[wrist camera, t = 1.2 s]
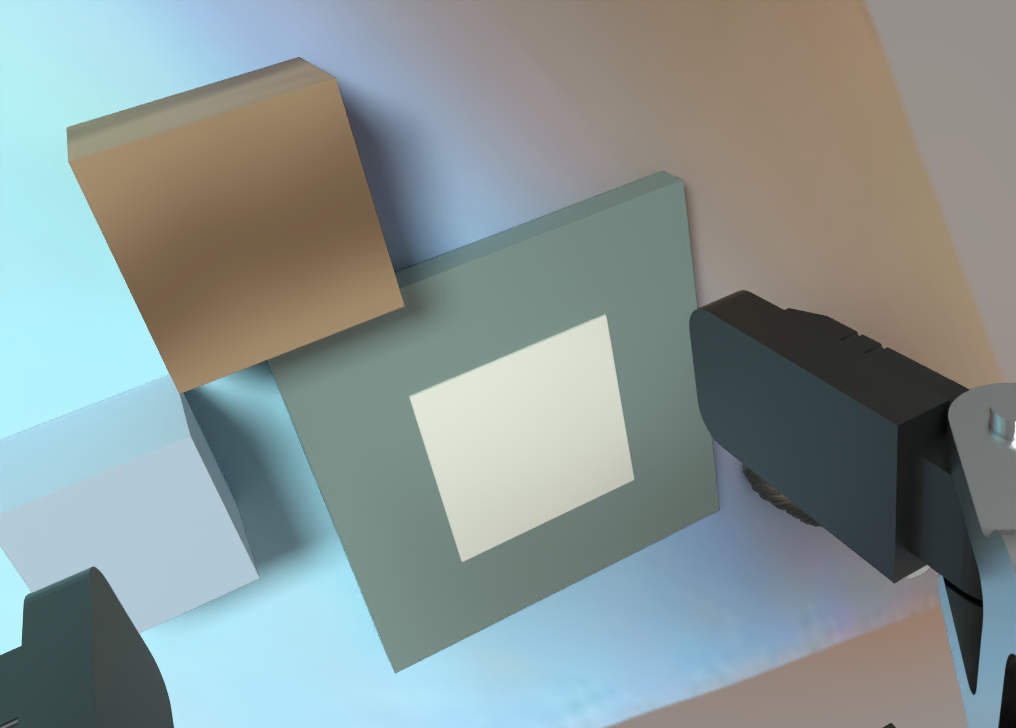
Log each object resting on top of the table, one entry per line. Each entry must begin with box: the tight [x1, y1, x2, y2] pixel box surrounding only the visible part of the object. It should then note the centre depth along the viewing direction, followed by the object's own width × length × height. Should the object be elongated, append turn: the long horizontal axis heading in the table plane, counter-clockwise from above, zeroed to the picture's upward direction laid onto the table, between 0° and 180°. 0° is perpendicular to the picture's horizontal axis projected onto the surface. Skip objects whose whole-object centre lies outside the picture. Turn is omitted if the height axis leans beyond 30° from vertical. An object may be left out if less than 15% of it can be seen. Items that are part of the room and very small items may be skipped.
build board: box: [267, 171, 720, 673], centre depth 31 cm, size 14×14×1 cm
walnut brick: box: [67, 57, 404, 394], centre depth 23 cm, size 6×6×4 cm
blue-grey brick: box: [0, 374, 259, 633], centre depth 25 cm, size 5×5×4 cm
